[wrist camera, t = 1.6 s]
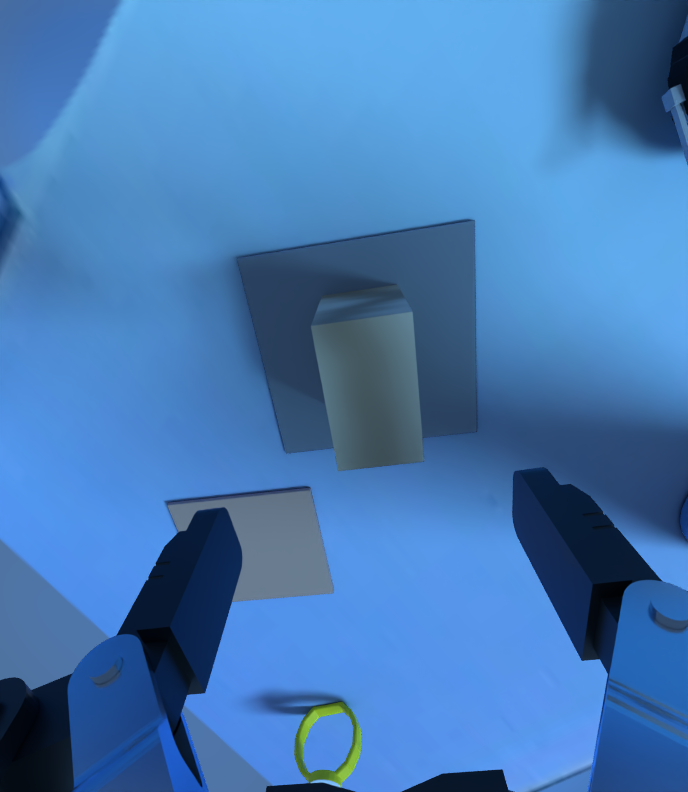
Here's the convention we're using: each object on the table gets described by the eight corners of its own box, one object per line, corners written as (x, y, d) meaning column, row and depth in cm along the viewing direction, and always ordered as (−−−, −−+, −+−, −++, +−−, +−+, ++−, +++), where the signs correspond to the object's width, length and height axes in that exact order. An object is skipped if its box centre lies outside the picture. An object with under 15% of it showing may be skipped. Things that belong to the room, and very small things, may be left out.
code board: (473, 220, 20) (475, 220, 19) (475, 430, 25) (476, 431, 24) (237, 257, 21) (236, 258, 20) (286, 451, 26) (285, 453, 25)
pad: (310, 487, 27) (309, 490, 27) (333, 589, 31) (333, 593, 31) (169, 502, 28) (167, 505, 27) (210, 600, 32) (209, 603, 32)
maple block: (397, 284, 21) (412, 311, 15) (408, 403, 24) (424, 461, 18) (321, 295, 21) (310, 326, 16) (342, 411, 24) (338, 470, 19)
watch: (308, 716, 39) (296, 797, 34) (297, 701, 38) (283, 782, 33) (365, 711, 38) (362, 794, 33) (355, 694, 37) (350, 778, 32)
